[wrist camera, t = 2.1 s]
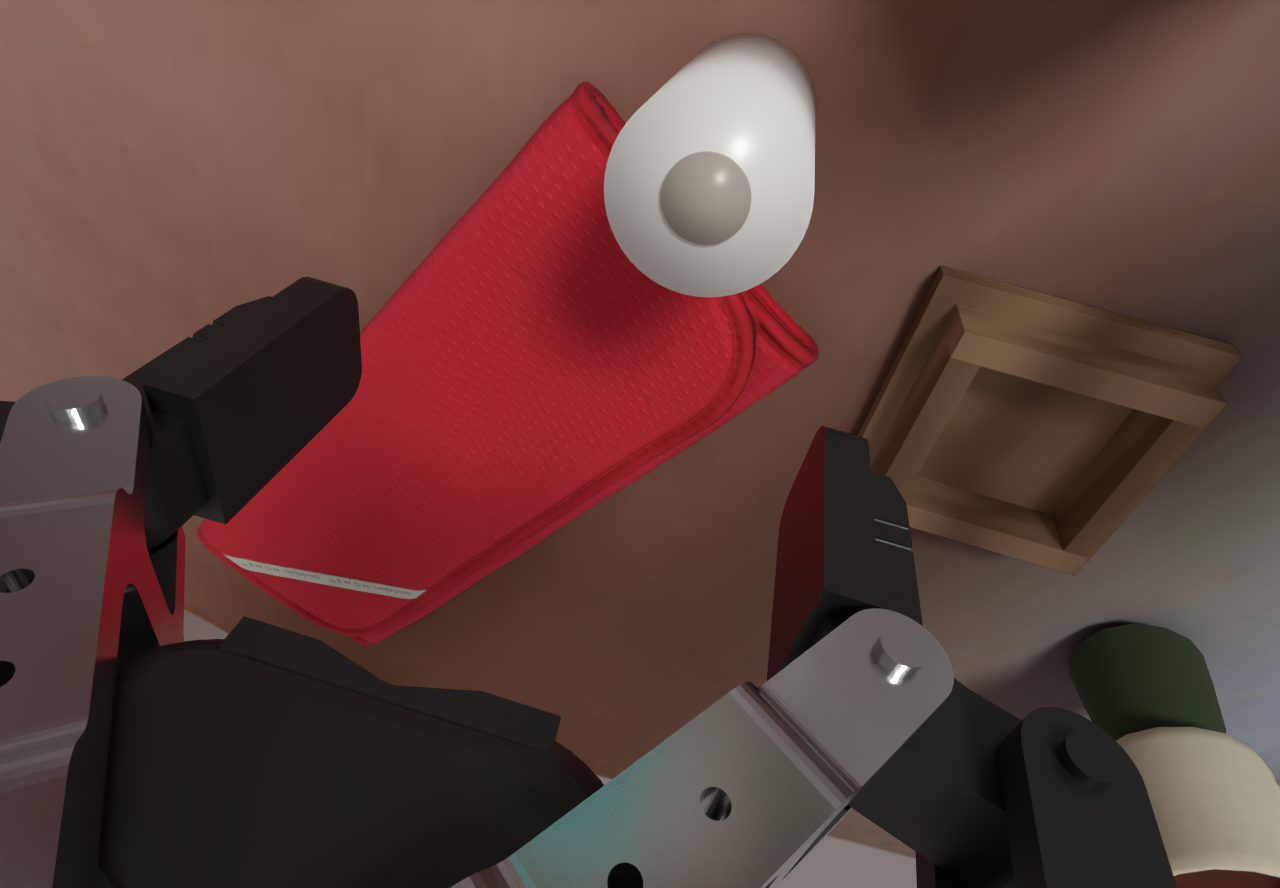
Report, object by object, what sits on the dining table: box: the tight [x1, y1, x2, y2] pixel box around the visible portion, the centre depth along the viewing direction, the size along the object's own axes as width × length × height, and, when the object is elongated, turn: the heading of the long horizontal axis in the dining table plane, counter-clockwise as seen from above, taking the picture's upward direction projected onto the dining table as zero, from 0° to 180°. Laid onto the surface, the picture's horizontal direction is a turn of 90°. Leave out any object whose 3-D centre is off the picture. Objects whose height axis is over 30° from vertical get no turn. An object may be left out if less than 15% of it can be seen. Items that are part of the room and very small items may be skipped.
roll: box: [604, 33, 816, 297], centre depth 23 cm, size 6×6×11 cm
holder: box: [857, 266, 1243, 576], centre depth 31 cm, size 12×12×4 cm
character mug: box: [1069, 624, 1280, 888], centre depth 34 cm, size 11×7×13 cm, turn 123°
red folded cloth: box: [197, 82, 819, 646], centre depth 40 cm, size 16×41×4 cm, turn 134°
